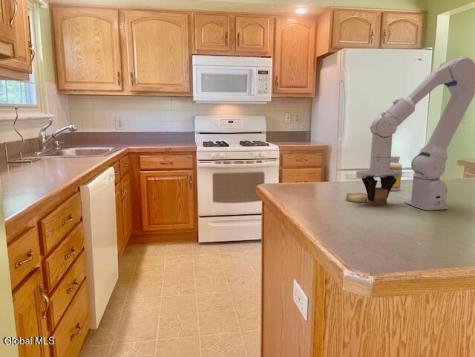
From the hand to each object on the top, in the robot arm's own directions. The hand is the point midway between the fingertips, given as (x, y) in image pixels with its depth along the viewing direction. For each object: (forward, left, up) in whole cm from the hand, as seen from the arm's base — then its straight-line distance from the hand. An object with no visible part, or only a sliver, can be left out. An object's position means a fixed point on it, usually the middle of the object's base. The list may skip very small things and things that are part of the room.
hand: (377, 200), depth 111 cm
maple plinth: (+6, +4, -1) cm, 7 cm away
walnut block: (0, 0, -1) cm, 1 cm away
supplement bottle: (+20, -18, -2) cm, 27 cm away
